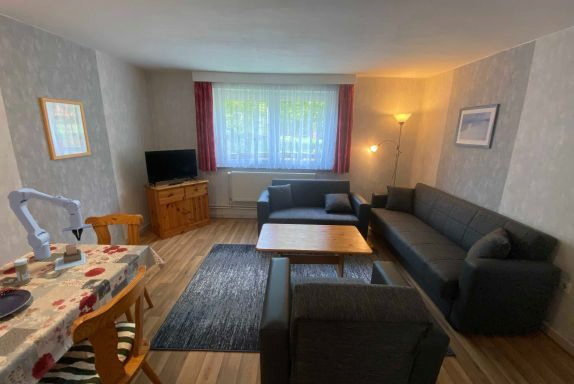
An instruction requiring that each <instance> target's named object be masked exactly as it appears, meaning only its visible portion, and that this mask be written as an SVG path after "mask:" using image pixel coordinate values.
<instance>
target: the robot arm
mask: <svg viewBox="0 0 574 384" xmlns="http://www.w3.org/2000/svg"><path fill="white" fill-rule="evenodd" d="M7 199H8V201H9V208H10V209H11V210H12V212H13V214H14V215H15V216H16V218H17V219H18V221H19V222H20V224H21V225H22V226H23V228H24V229H25V230H26V232H27V236H26V239H27V242H28V245H29V246H30V247H31V248H32V250H33V251H32V252H33V255H34V260H36V261H40V260H46V259H49V258H51V256H52V252H51V247H50V240H51V234H50V233H48V232H47V231H46V229H44V228H41V227H40V225H38V223H37V221H36V220H35V219H34V216H32V214H31V213H30V211H29V209H28V208H27V207H26V203H27V202H28V200H32V199H35V200H39V201H44V202H49V203H51V204H52V205H53V206H56V207H59V208H63V209H65V210H66V211H67V212H68V219H69V225H70V226H67V227H62V228H61V229H60V230H61V233H65V232H71V233H72V234H73V235H74V236H75V238H76V240H77V241H78V242H79V241H80V242H81V238H82V233H83V232H84V229H89V228H90V229H91V228H93V225H92V223H86V224H83V218H82V213H81V212H82V211H81V207H82V205H83V204H82V202H81V201H80V200H79V199H76V198H74V199H72V198H66V197H64V196H63V195H56V196H53V195H50V194H47V193H43V192H42V191H41V192H40V191H37V190H36V189H35V188H31V187H23V188H20V189H16V190H11V191H10V192H9V194H8V195H7Z"/></svg>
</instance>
